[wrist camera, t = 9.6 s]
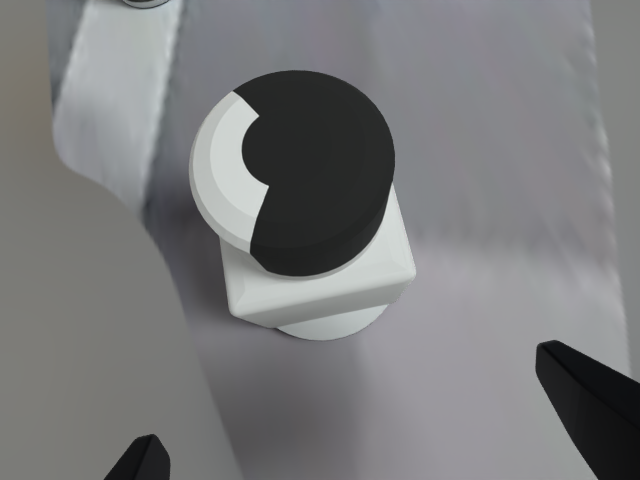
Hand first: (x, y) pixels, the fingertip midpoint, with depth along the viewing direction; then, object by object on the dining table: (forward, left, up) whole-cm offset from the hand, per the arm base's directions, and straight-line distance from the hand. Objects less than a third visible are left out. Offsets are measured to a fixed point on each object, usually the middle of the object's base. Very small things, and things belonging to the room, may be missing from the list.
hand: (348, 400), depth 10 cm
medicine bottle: (+6, -4, -12) cm, 14 cm away
